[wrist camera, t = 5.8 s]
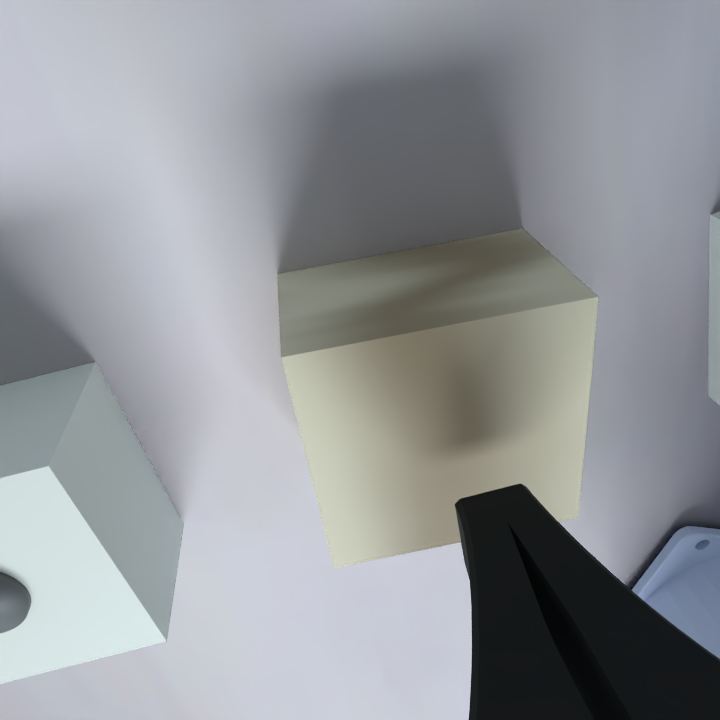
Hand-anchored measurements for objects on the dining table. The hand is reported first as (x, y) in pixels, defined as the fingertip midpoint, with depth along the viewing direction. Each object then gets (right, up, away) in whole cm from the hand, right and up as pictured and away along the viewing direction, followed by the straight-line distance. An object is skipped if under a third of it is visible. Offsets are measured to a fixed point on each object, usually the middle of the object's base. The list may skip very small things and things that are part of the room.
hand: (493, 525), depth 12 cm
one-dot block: (-11, 0, +5) cm, 12 cm away
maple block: (-1, +3, +4) cm, 6 cm away
